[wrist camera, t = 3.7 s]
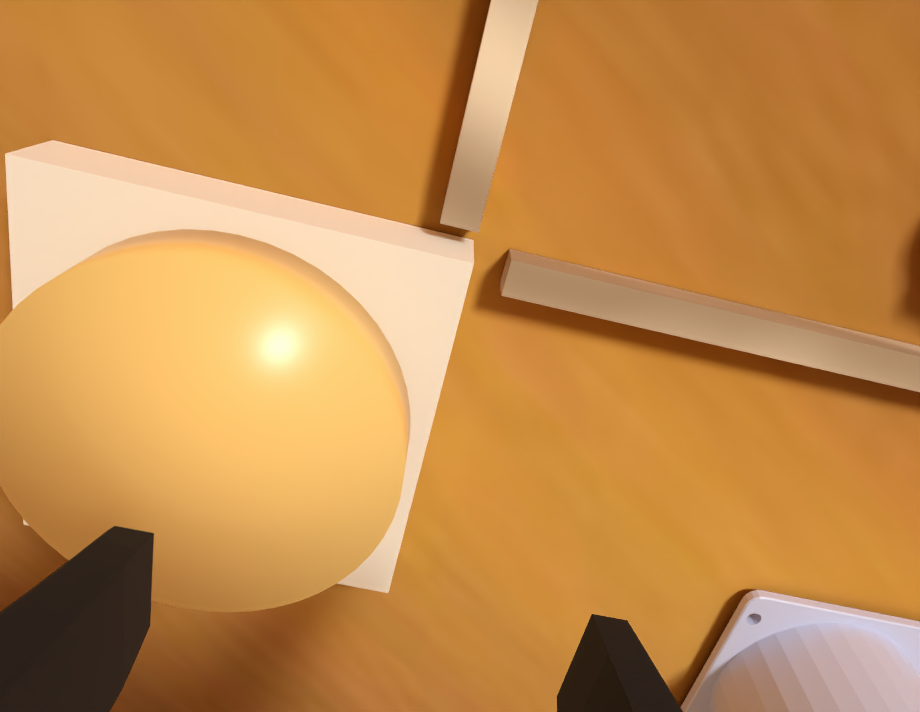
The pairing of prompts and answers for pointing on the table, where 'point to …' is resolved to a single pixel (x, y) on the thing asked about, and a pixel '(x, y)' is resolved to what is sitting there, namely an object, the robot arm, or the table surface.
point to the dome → (205, 417)
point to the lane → (621, 293)
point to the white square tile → (264, 219)
